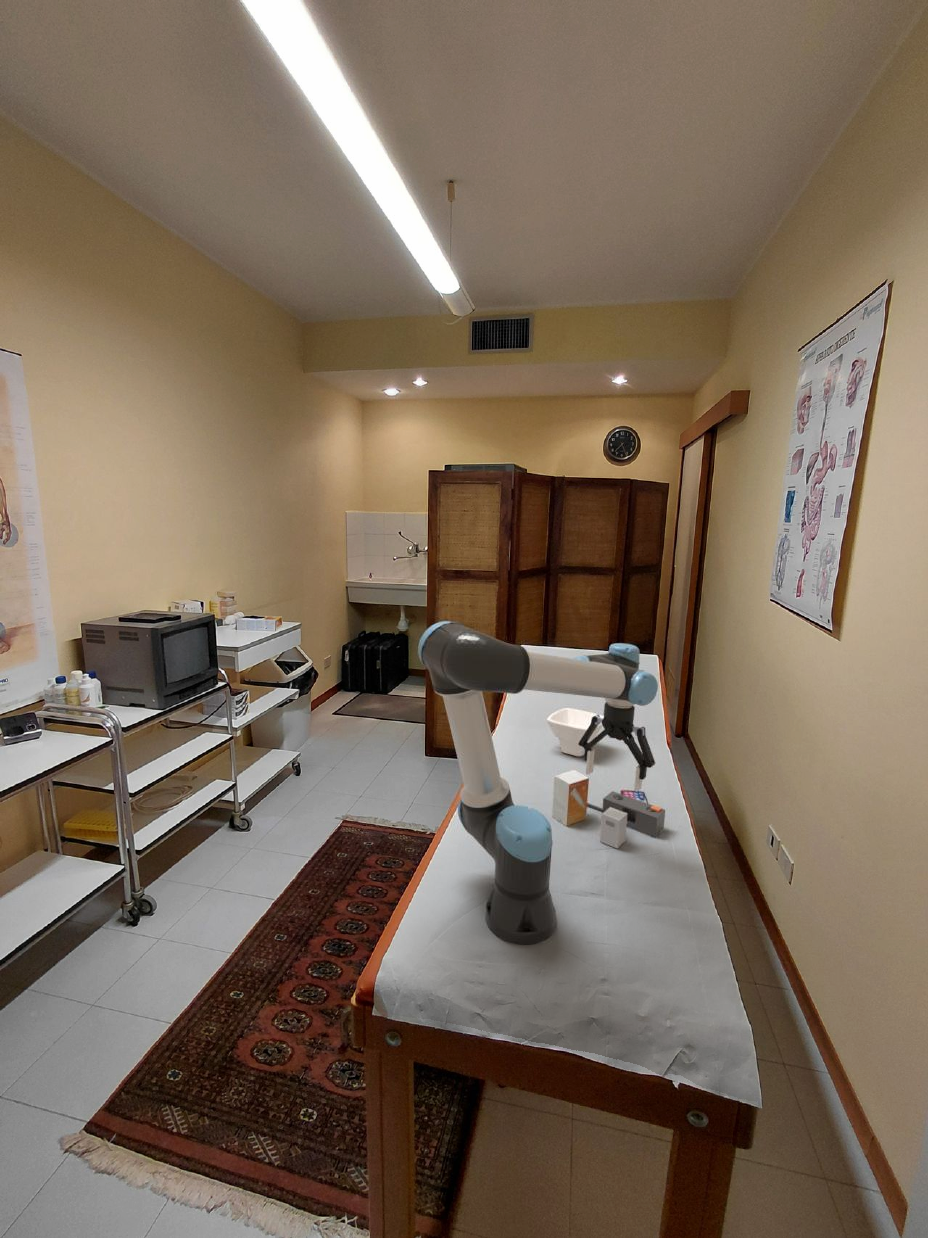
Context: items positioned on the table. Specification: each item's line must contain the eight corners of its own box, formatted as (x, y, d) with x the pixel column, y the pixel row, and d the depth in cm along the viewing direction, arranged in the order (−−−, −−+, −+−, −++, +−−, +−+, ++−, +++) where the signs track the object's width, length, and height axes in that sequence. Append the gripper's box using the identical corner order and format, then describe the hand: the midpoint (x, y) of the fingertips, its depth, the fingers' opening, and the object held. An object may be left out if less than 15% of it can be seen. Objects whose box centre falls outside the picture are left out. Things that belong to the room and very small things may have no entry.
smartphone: (626, 813, 161) (620, 789, 176) (626, 816, 162) (620, 792, 176) (653, 815, 160) (644, 791, 175) (652, 818, 160) (644, 794, 175)
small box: (566, 827, 154) (569, 784, 152) (551, 817, 159) (553, 775, 157) (586, 819, 158) (589, 777, 156) (571, 809, 164) (573, 769, 161)
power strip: (655, 838, 149) (657, 816, 148) (577, 807, 165) (579, 787, 164) (663, 829, 154) (665, 807, 153) (587, 800, 169) (588, 780, 168)
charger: (617, 848, 143) (619, 820, 142) (599, 841, 147) (601, 814, 145) (630, 835, 150) (633, 808, 149) (613, 828, 153) (615, 802, 152)
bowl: (562, 739, 218) (564, 706, 216) (608, 751, 207) (611, 716, 205) (540, 754, 203) (542, 718, 201) (589, 768, 192) (591, 731, 190)
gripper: (673, 712, 134) (665, 792, 138) (583, 690, 150) (577, 762, 153) (662, 719, 129) (653, 802, 132) (569, 695, 144) (564, 770, 148)
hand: (612, 781), depth 143 cm, fingers open, 13 cm apart
